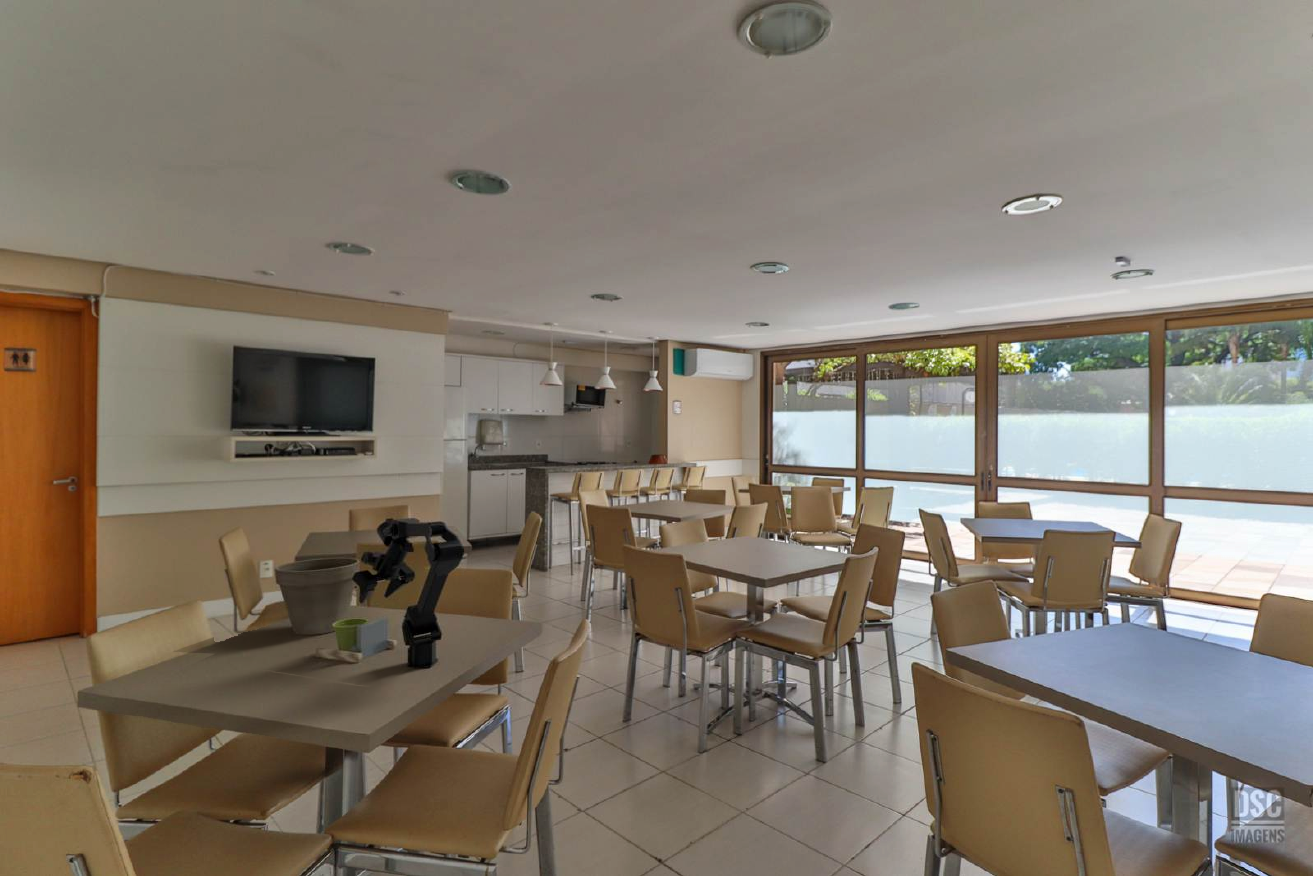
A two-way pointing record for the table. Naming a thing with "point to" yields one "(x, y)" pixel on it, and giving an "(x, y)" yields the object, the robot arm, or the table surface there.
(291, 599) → the plant pot
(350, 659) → the wooden rail frame
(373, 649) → the board
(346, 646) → the plant pot
